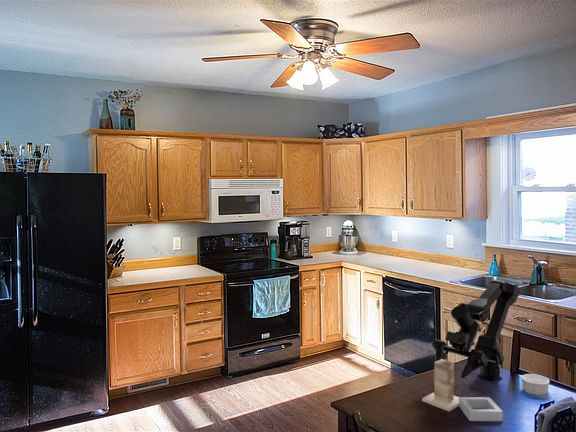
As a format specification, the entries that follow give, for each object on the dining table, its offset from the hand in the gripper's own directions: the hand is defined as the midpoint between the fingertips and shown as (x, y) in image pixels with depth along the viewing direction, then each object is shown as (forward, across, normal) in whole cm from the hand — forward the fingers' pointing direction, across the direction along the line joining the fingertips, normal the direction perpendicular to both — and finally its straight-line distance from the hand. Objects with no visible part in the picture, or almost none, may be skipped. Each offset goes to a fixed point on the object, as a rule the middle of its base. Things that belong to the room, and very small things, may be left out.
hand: (449, 373), depth 157 cm
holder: (+8, +12, +5) cm, 15 cm away
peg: (+8, 0, +3) cm, 8 cm away
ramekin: (-14, +16, +27) cm, 35 cm away
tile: (+9, 0, +4) cm, 9 cm away
